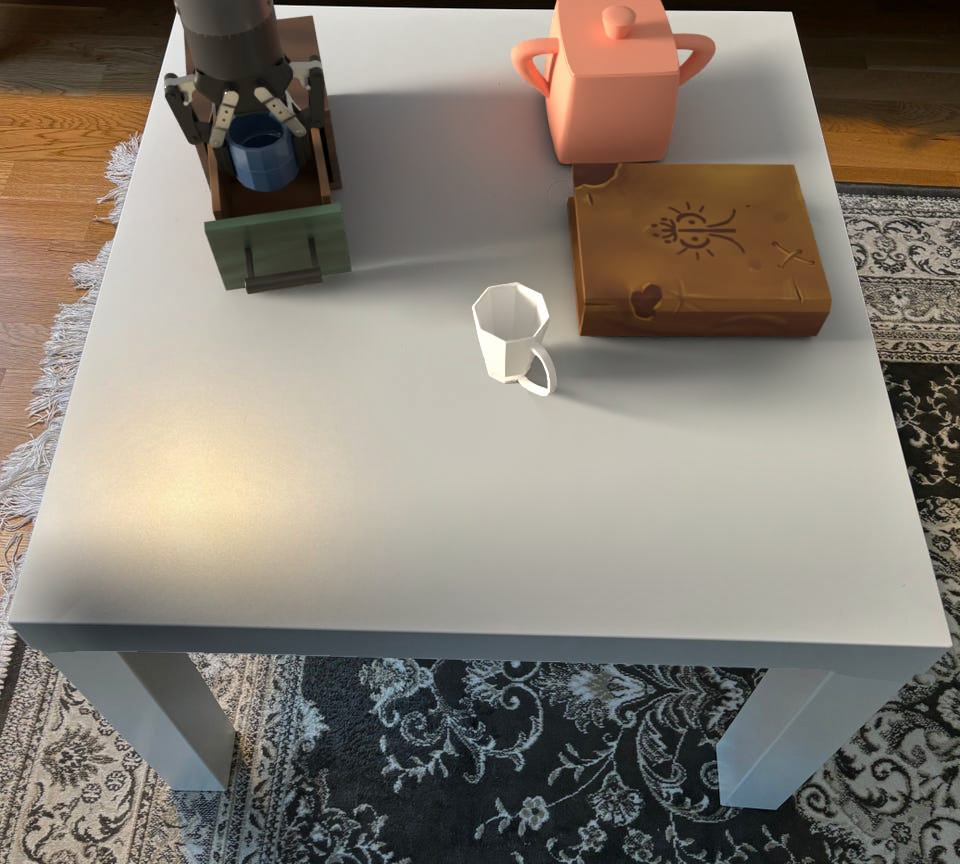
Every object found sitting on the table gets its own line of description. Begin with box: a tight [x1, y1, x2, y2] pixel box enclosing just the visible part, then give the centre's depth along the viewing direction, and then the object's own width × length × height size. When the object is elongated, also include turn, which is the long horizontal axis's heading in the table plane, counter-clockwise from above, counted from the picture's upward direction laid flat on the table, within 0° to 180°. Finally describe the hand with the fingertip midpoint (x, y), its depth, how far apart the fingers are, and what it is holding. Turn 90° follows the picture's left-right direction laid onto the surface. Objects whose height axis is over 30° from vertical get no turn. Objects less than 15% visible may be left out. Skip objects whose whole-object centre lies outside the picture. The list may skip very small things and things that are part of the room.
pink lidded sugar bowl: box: [510, 0, 717, 165], centre depth 98 cm, size 20×22×14 cm
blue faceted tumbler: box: [225, 111, 299, 192], centre depth 84 cm, size 6×6×6 cm
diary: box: [566, 162, 833, 337], centre depth 89 cm, size 23×19×6 cm
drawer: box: [203, 128, 353, 295], centre depth 88 cm, size 20×13×8 cm, turn 12°
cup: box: [471, 281, 558, 397], centre depth 81 cm, size 7×10×8 cm
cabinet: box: [183, 14, 344, 193], centre depth 96 cm, size 16×14×10 cm
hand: (266, 165), depth 85 cm, fingers closed on blue faceted tumbler, 6 cm apart
